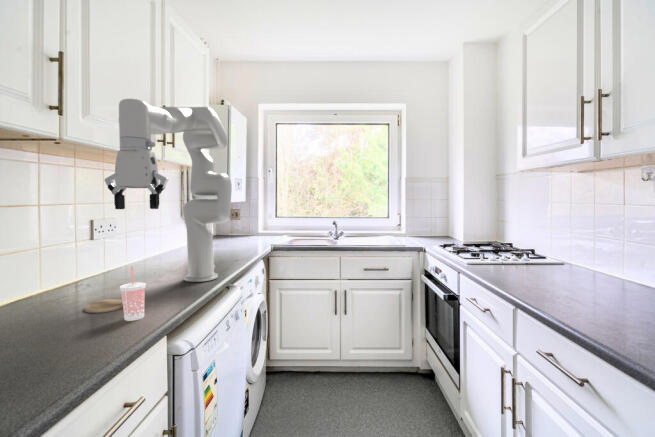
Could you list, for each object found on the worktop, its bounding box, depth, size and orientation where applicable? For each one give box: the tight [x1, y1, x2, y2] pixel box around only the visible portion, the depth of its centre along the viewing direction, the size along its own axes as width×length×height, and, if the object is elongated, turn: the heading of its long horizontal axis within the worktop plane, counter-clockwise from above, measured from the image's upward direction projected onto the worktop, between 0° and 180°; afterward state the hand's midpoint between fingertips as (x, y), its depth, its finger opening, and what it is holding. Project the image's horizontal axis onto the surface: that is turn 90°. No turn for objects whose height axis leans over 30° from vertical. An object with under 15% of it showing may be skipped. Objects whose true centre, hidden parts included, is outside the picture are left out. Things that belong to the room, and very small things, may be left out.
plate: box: [84, 298, 123, 314], centre depth 102 cm, size 11×11×1 cm
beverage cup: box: [119, 266, 147, 322], centre depth 92 cm, size 6×6×14 cm
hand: (137, 209), depth 94 cm, fingers open, 9 cm apart
